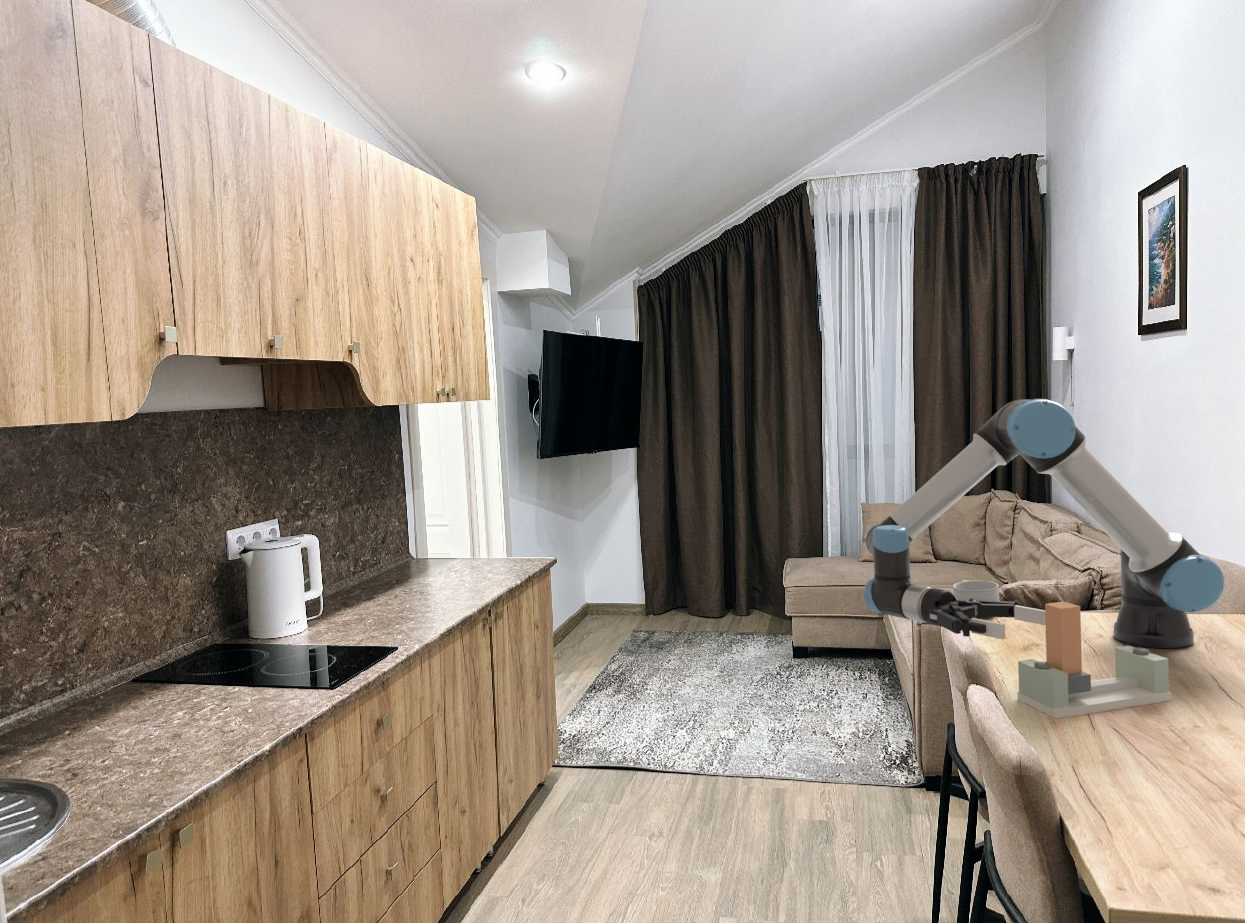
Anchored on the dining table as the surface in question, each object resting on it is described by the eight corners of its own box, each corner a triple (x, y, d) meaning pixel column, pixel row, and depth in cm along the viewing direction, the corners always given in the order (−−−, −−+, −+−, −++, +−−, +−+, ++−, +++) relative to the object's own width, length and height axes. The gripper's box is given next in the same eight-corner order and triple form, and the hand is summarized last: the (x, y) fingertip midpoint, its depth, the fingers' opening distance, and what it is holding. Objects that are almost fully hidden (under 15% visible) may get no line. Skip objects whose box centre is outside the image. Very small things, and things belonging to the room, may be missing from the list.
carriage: (1062, 679, 158) (1060, 599, 157) (1090, 691, 151) (1089, 607, 150) (1039, 682, 157) (1036, 602, 156) (1066, 694, 150) (1064, 611, 149)
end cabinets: (1129, 676, 162) (1128, 642, 162) (1168, 691, 153) (1168, 655, 153) (1019, 692, 157) (1018, 657, 156) (1053, 709, 148) (1052, 672, 148)
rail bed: (1127, 683, 163) (1126, 668, 162) (1171, 700, 153) (1171, 684, 153) (1017, 699, 158) (1017, 684, 157) (1056, 718, 148) (1055, 701, 148)
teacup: (1004, 620, 211) (1003, 588, 210) (958, 620, 213) (956, 589, 212) (991, 606, 224) (990, 576, 224) (948, 607, 227) (947, 577, 226)
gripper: (968, 612, 184) (1064, 631, 166) (890, 635, 170) (985, 658, 152) (967, 578, 183) (1063, 593, 165) (889, 598, 170) (983, 617, 152)
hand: (1026, 625), depth 159 cm, fingers open, 13 cm apart
